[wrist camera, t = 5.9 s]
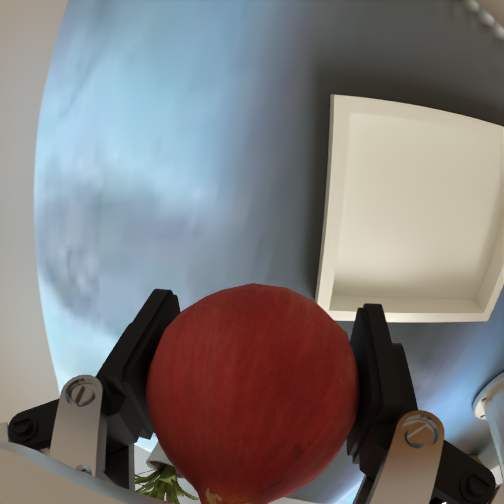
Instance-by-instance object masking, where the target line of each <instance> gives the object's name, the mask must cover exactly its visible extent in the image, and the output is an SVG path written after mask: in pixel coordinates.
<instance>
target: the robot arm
mask: <svg viewBox="0 0 504 504" xmlns="http://www.w3.org/2000/svg"><path fill="white" fill-rule="evenodd" d="M179 314H180V307H179V302H178V297H177V295H173V292H172V291H171V290H164V289H154V291H153V292H152V293H151V295H150V296H149V298H148V299H147V301H146V302H145V304H144V305H143V307H142V308H141V310H140V311H139V313H138V314H137V316H136V317H135V319H134V321H133V322H132V323H130V324H129V325H128V326H127V328H126V329H125V331H124V332H123V334H122V336H121V337H120V339H119V340H118V342H117V343H116V345H115V346H114V348H113V350H112V351H111V353H110V354H109V356H108V357H107V359H106V361H105V362H104V364H103V365H102V367H101V369H100V370H99V372H98V373H97V375H96V377H93V376H91V375H79V376H76V377H74V378H72V379H71V380H69V381H68V382H67V383H66V384H65V385H64V387H63V389H62V391H61V395H60V398H59V399H57V400H54V401H51V402H48V403H46V404H43V405H40V406H37V407H34V408H31V409H28V410H26V411H23V412H21V413H18V414H17V415H16V416H14V417H13V418H12V420H11V421H10V423H9V425H8V423H6V422H4V423H1V424H0V504H175V503H171V502H167V501H164V500H160V499H157V498H153V497H150V496H147V495H143V494H140V493H137V492H135V473H134V443H136V442H137V440H138V438H139V437H142V438H145V439H149V440H150V439H151V437H152V434H153V433H155V430H154V427H153V424H152V421H151V418H150V415H149V411H148V405H147V398H146V384H147V373H148V370H149V367H150V364H151V362H152V359H153V356H154V354H155V351H156V349H157V347H158V344H159V342H160V340H161V338H162V335H163V333H164V331H165V329H166V328H167V327H168V326H169V325H170V324H171V322H172V321H173V320H174V319H175V318H176V317H177V316H178V315H179ZM350 345H351V348H352V351H353V354H354V357H355V361H356V365H357V369H358V373H359V378H360V403H359V408H358V412H357V416H356V420H355V422H354V424H353V426H352V428H351V430H350V432H349V434H348V436H347V455H348V456H351V455H353V464H359V465H360V470H361V471H362V472H363V473H364V474H365V476H364V478H363V480H362V483H361V485H360V488H359V490H358V492H357V495H356V497H355V499H354V501H353V504H504V484H503V483H502V484H500V485H497V484H496V482H495V478H494V476H493V474H492V472H491V471H490V470H489V469H488V468H486V467H485V466H483V465H482V464H480V463H479V462H477V461H476V460H474V459H473V458H471V457H470V456H468V455H467V454H465V453H464V452H462V451H461V450H459V449H458V448H456V447H455V446H453V445H452V444H450V443H449V442H447V441H446V440H444V427H443V424H442V422H441V421H440V420H439V418H438V417H436V416H435V415H434V414H432V413H430V412H427V411H422V410H418V407H417V403H416V398H415V393H414V389H413V385H412V380H411V376H410V372H409V368H408V364H407V360H406V356H405V352H404V349H403V346H402V345H401V343H392V342H391V338H390V333H389V330H388V326H387V322H386V318H385V314H384V310H383V307H382V304H374V303H365V304H364V305H363V308H361V307H358V309H357V313H356V318H355V322H354V327H353V331H352V335H351V340H350ZM473 412H474V415H475V416H476V418H478V419H484V420H485V419H487V422H488V425H489V429H490V432H491V435H492V439H493V442H494V446H495V450H496V453H497V457H498V461H499V465H500V469H501V474H502V478H503V482H504V372H502V373H501V374H499V375H498V376H497V377H496V378H494V379H493V380H492V381H491V382H490V383H489V384H487V385H486V386H485V388H484V389H483V390H482V391H481V392H480V393H479V395H478V396H477V398H476V399H475V401H474V404H473Z"/></svg>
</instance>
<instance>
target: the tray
mask: <svg viewBox="0 0 504 504" xmlns="http://www.w3.org/2000/svg"><path fill="white" fill-rule="evenodd" d="M503 285H504V127H503V126H500V125H497V124H494V123H490V122H487V121H483V120H479V119H476V118H472V117H468V116H464V115H460V114H456V113H451V112H447V111H443V110H438V109H433V108H428V107H423V106H418V105H412V104H406V103H400V102H394V101H387V100H380V99H373V98H365V97H356V96H346V95H335V94H330V125H329V147H328V165H327V181H326V195H325V207H324V219H323V230H322V241H321V251H320V260H319V269H318V278H317V286H316V295H315V302H316V303H317V304H318V305H319V306H320V307H321V308H322V309H324V310H325V311H326V312H327V313H328V315H329V316H330V317H331V318H332V319H333V320H339V321H355V318H356V313H357V309H358V307H361V308H363V305H364V304H365V303H374V304H382V307H383V310H384V314H385V318H386V322H475V321H488V319H489V317H490V315H491V313H492V310H493V308H494V306H495V304H496V302H497V299H498V297H499V295H500V292H501V290H502V287H503Z"/></svg>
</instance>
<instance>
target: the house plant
mask: <svg viewBox="0 0 504 504" xmlns="http://www.w3.org/2000/svg"><path fill="white" fill-rule="evenodd" d="M146 463H147V465H148V466H149V467H150V468H151V469H153V470H155V472H154V473H152V474H151V475H149V476H148V477H140V476H138V475H136V474H135V477H138V478H135V480H136V482H135V484H140V483H145V482H148V483H147V484H145V485H142V486H143V487H141V488H140V489H138V490H136V491H135V492H137V493H140V494H143V495H147V496H150V497H153V498H157V499H160V500H164V495H165V492H166V501H167V502H171V503H175V504H180V503H179V501H178V498H177V495H178V496H184V495H185V496H187V497H188V498H190V499H193V500H199V499H200V498H196V497H194V496H192V495H190V494H188V493H186V492H185V491H184V490H182V489H181V487H180V486H179V484H178V482H177V478H181V479H185V478H184V477H183V476H182V475H181V474H180V473H179V472H178V471H177V470H176V468H175V467H174V466H173V465H172V464H171V462H170V461H169V460H168V458H167V457H166V455H165V453H164V451H163V450H162V448H161V446H160V444H159V441H158V443H157V444H156V446H155V448H154V449H153V451H152V453H151V455H150V456H149V458H148V460H147V461H146ZM160 474H161V475H160ZM159 475H160V476H159ZM158 476H159V478H158V479H157V480H155V479H156V478H157V477H158ZM154 480H155V481H154ZM153 481H154V482H153ZM153 487H154V488H153ZM144 488H146V489H144ZM151 488H153V490H152V491H150V492H147V491H148V490H150V489H151ZM142 489H144V490H142ZM141 490H142V491H141ZM183 494H184V495H183Z"/></svg>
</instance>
